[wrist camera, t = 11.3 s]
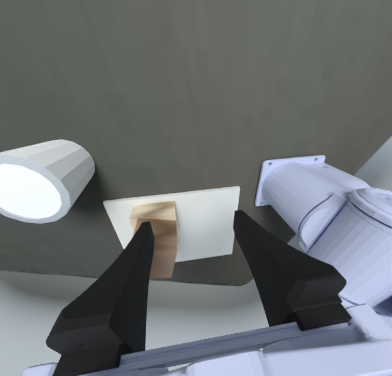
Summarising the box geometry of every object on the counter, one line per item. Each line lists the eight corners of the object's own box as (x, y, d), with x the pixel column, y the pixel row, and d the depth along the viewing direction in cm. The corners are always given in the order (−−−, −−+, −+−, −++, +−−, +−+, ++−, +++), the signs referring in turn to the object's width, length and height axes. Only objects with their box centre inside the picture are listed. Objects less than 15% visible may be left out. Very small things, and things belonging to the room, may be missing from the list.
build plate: (238, 186, 24) (240, 188, 23) (231, 251, 32) (232, 254, 32) (104, 200, 22) (102, 203, 22) (133, 265, 30) (132, 269, 30)
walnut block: (176, 220, 21) (177, 252, 17) (171, 244, 24) (171, 277, 19) (138, 217, 20) (128, 250, 16) (137, 243, 23) (129, 278, 18)
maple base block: (174, 200, 23) (175, 213, 21) (179, 229, 26) (179, 243, 24) (133, 205, 23) (128, 219, 20) (143, 233, 26) (139, 248, 23)
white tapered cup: (92, 135, 18) (52, 156, 12) (106, 187, 21) (79, 223, 15) (23, 131, 17) (-60, 152, 11) (49, 186, 20) (-3, 225, 14)
